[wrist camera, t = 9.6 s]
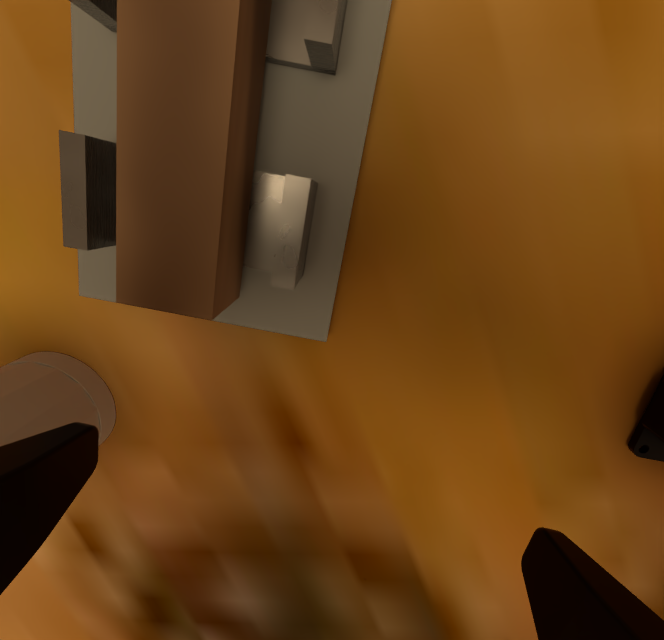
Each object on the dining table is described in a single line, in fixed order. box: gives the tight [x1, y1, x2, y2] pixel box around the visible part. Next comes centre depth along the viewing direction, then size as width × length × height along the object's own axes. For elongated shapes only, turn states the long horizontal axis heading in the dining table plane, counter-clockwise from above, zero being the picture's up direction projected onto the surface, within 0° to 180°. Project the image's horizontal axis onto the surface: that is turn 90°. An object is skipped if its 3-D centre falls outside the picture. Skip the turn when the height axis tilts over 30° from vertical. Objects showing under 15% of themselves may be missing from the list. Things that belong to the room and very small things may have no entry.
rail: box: [116, 0, 272, 320], centre depth 13 cm, size 4×15×4 cm, turn 170°
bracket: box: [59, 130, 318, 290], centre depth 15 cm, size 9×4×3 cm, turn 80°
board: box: [71, 0, 392, 342], centre depth 15 cm, size 12×18×1 cm, turn 170°
